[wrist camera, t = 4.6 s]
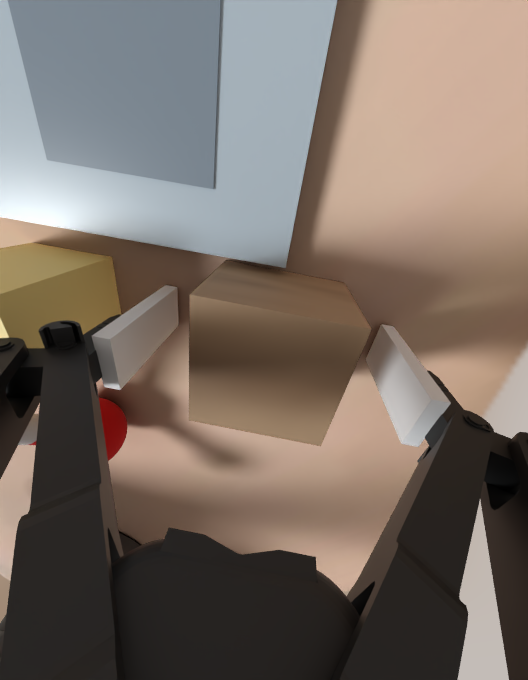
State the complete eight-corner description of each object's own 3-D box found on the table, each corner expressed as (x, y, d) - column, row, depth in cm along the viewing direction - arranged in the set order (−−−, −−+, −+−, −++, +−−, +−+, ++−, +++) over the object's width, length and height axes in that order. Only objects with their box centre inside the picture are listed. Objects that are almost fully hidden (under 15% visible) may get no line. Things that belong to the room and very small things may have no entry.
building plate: (286, 262, 14) (285, 268, 13) (15, 214, 14) (-9, 215, 13) (382, -239, 7) (399, -323, 6) (-161, -317, 7) (-244, -411, 6)
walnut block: (313, 374, 18) (320, 446, 13) (218, 356, 18) (189, 420, 13) (344, 282, 14) (371, 329, 9) (226, 259, 15) (189, 294, 9)
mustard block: (123, 328, 18) (35, 396, 12) (56, 315, 18) (-67, 376, 12) (112, 256, 15) (-9, 297, 9) (32, 242, 15) (-140, 272, 9)
